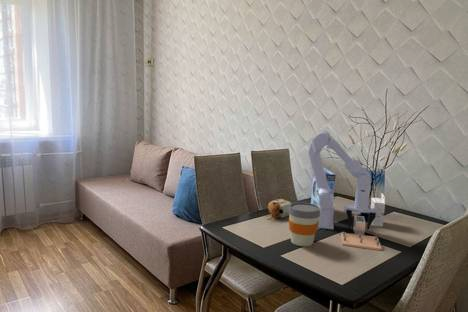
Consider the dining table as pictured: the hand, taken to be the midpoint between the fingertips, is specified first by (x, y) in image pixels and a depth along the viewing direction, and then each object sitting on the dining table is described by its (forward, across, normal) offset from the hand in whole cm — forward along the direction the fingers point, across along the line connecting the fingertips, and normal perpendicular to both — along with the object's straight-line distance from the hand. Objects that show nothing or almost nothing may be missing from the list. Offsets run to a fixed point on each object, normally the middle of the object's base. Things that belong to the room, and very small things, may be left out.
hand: (359, 227), depth 154 cm
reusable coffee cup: (+2, -24, -20) cm, 32 cm away
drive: (+2, 0, 0) cm, 2 cm away
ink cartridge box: (+2, +9, +14) cm, 16 cm away
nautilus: (+2, -38, +7) cm, 39 cm away
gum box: (+2, -17, +20) cm, 27 cm away
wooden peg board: (+2, 0, -12) cm, 13 cm away
